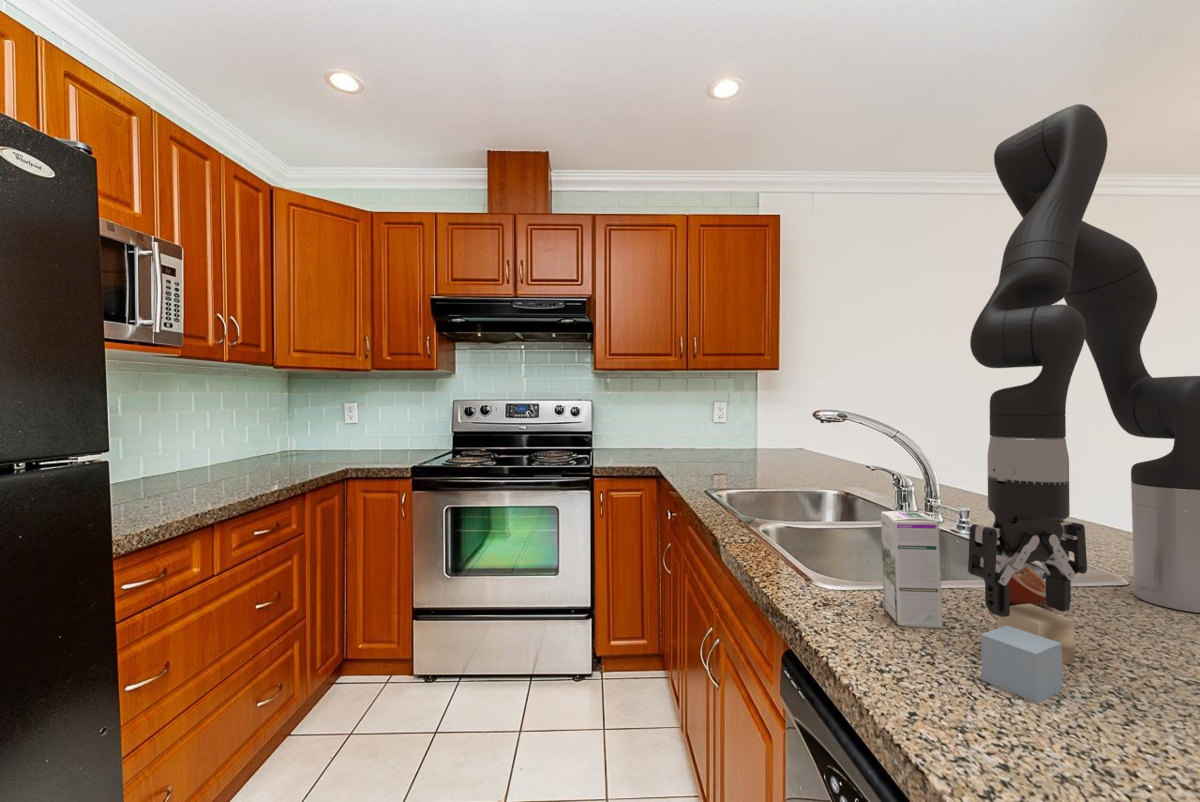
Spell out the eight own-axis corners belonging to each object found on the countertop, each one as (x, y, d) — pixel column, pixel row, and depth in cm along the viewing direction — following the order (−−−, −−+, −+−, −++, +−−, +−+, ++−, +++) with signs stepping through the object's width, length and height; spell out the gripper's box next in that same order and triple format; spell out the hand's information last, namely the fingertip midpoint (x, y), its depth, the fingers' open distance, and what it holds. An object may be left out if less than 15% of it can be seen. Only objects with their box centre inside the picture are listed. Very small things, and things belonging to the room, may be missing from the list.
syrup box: (944, 629, 69) (942, 519, 69) (895, 626, 70) (893, 518, 70) (926, 612, 74) (924, 510, 74) (881, 609, 75) (879, 509, 75)
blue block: (1007, 669, 58) (1006, 625, 58) (1062, 691, 54) (1061, 643, 54) (981, 680, 56) (980, 634, 56) (1037, 704, 52) (1036, 653, 52)
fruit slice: (1004, 591, 82) (1003, 559, 82) (1059, 603, 77) (1058, 570, 77) (985, 604, 77) (984, 570, 77) (1043, 618, 72) (1042, 582, 72)
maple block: (1030, 644, 64) (1029, 603, 64) (1074, 663, 59) (1073, 619, 59) (997, 648, 63) (996, 607, 63) (1039, 668, 58) (1038, 624, 58)
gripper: (1043, 470, 67) (1044, 596, 67) (949, 472, 64) (950, 604, 64) (1110, 477, 59) (1112, 619, 59) (1007, 481, 57) (1008, 629, 57)
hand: (1028, 611), depth 62 cm, fingers open, 8 cm apart
